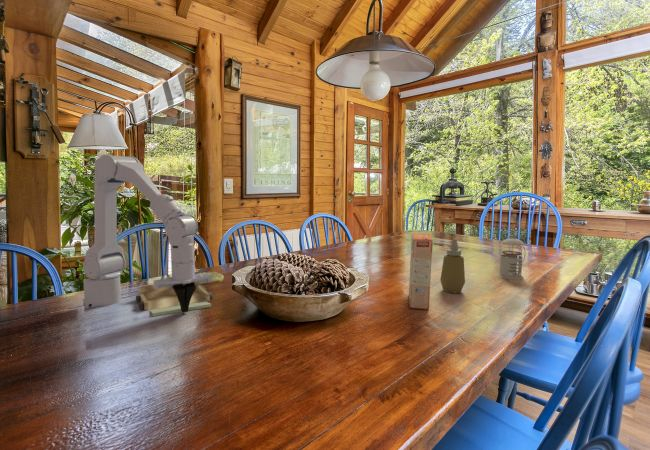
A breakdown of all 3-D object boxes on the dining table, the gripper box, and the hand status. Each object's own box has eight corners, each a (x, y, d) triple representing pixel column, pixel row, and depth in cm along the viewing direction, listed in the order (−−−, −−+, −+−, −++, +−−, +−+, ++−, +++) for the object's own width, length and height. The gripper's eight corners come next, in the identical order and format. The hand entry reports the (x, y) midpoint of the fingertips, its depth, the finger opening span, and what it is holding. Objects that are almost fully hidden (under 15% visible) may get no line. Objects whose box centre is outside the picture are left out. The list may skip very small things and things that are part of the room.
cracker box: (430, 310, 112) (433, 239, 110) (409, 309, 113) (411, 238, 111) (427, 296, 126) (430, 232, 123) (408, 295, 127) (410, 232, 125)
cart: (140, 316, 105) (140, 296, 104) (135, 304, 114) (134, 286, 114) (213, 304, 115) (212, 286, 114) (202, 294, 125) (202, 278, 124)
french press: (491, 274, 156) (495, 213, 153) (511, 272, 161) (515, 212, 158) (512, 280, 147) (516, 215, 144) (532, 277, 152) (537, 214, 149)
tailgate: (150, 315, 105) (153, 318, 100) (149, 310, 105) (152, 313, 100) (206, 306, 113) (211, 308, 109) (206, 301, 113) (211, 303, 109)
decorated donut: (196, 290, 130) (196, 279, 130) (190, 282, 140) (190, 272, 139) (227, 286, 135) (227, 275, 135) (219, 279, 145) (219, 269, 144)
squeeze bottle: (461, 288, 136) (463, 237, 134) (467, 295, 128) (470, 241, 126) (437, 287, 137) (440, 237, 134) (442, 294, 129) (444, 240, 126)
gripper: (155, 267, 94) (157, 320, 96) (214, 261, 102) (215, 310, 104) (151, 261, 100) (153, 312, 102) (207, 256, 108) (208, 303, 110)
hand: (184, 311), depth 103 cm, fingers closed
